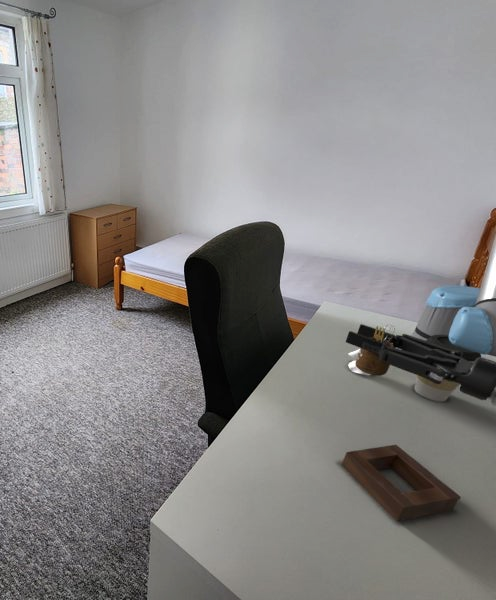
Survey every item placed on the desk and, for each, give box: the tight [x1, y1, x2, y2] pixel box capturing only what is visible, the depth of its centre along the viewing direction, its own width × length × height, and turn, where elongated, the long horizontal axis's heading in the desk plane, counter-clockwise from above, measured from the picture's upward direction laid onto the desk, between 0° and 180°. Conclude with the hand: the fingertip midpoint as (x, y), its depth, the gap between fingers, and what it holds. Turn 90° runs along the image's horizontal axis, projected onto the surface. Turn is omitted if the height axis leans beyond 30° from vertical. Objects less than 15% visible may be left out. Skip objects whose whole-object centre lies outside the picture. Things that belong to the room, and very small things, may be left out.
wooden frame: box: [341, 444, 461, 522], centre depth 62 cm, size 11×11×4 cm
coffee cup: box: [414, 335, 482, 402], centre depth 84 cm, size 10×10×15 cm
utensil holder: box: [355, 324, 396, 377], centre depth 76 cm, size 6×6×12 cm
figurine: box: [347, 348, 372, 376], centre depth 94 cm, size 8×8×12 cm
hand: (353, 333), depth 79 cm, fingers closed on utensil holder, 5 cm apart
